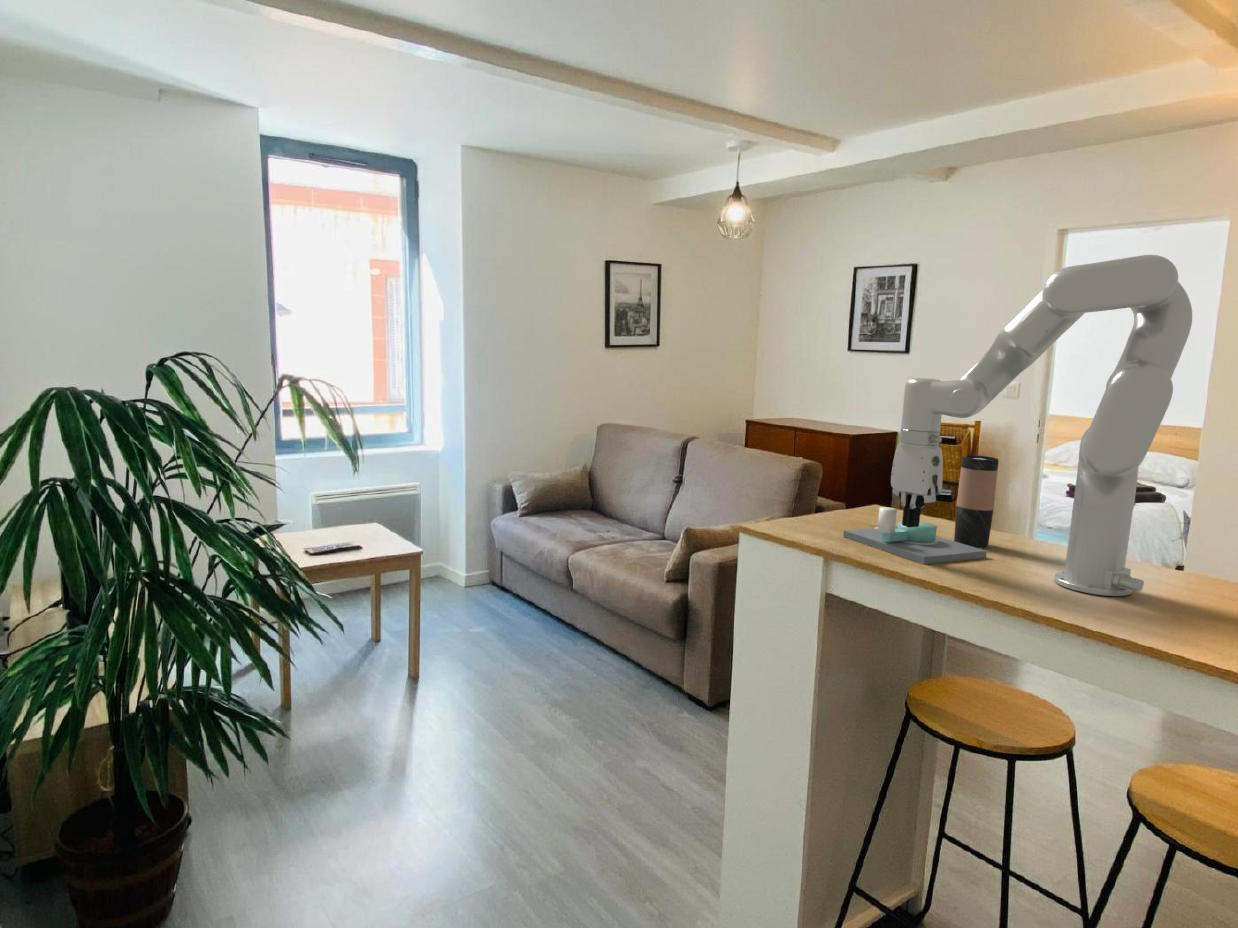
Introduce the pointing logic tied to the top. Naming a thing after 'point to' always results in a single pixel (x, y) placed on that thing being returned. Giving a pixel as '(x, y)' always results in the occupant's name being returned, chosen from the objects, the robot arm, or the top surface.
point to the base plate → (917, 547)
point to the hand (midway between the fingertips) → (910, 525)
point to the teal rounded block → (903, 528)
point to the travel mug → (975, 500)
